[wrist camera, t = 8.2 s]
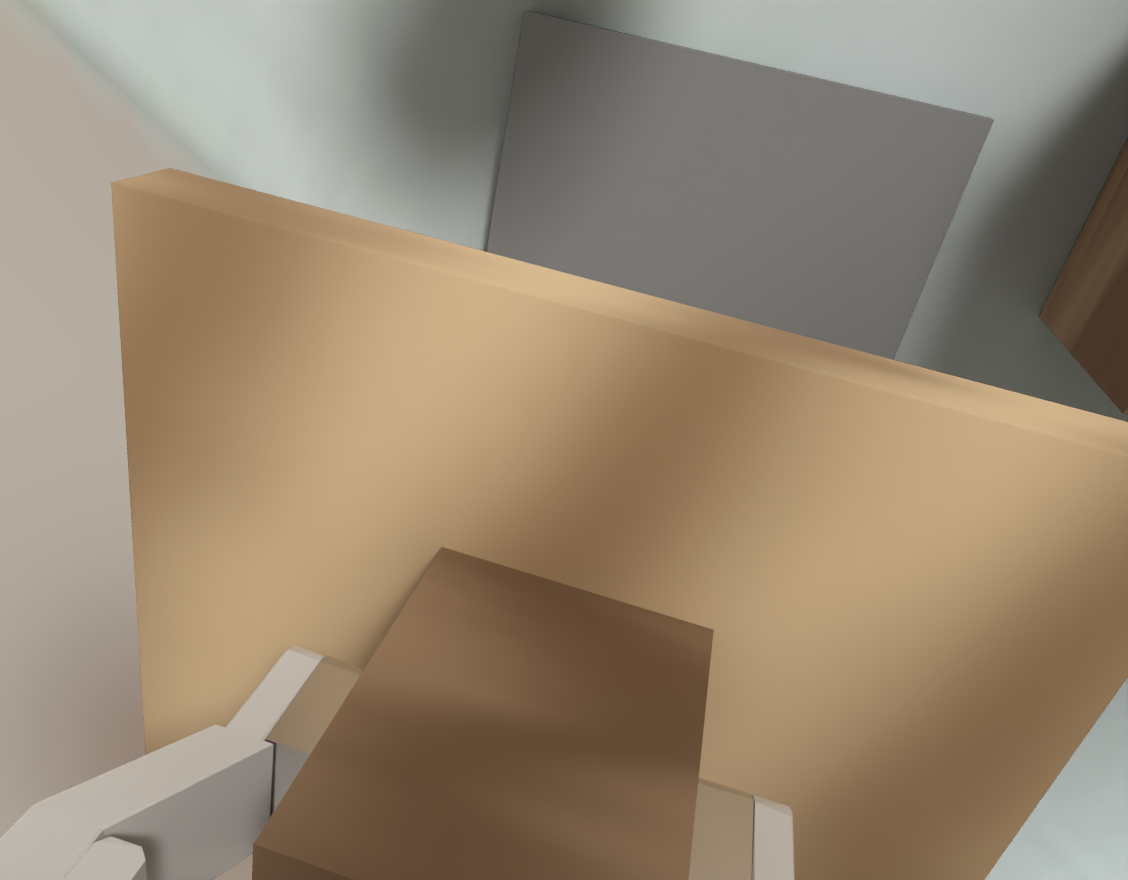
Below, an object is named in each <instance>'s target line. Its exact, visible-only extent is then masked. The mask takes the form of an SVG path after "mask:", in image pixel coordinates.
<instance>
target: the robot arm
mask: <svg viewBox="0 0 1128 880" xmlns="http://www.w3.org/2000/svg"><path fill="white" fill-rule="evenodd" d="M363 670H364V669H363V668H360V667H357V666H355V665H352V664H349V663H346V662H343V661H341V660H338V659H335V658H332V657H329V656H325V655H322V654H319V653H316V652H313V651H311V650H308V649H305V648H302V647H299V646H296V645H294V646H292V647H291V648H289V649H288V650H286V651H285V652H284V653H283V654H282V656H281V657H280V658H279V660H278V661H277V662H276V663H275V665H274V666H273V667H272V668H271V670H270V671H269V672H268V674H267V675H266V676H265V677H264V679H263V680H262V681H261V682H260V684H259V685H258V686H257V688H256V689H255V690H254V691H253V693H252V694H251V695H250V696H249V698H248V699H247V700H246V702H245V703H244V704H243V705H242V707H241V708H240V709H239V710H238V712H237V713H236V714H235V716H234V717H233V718H232V719H231V721H230V722H229V723H228V724H227V726H226V727H223V726H219V725H216V724H215V725H212V726H210V727H208V728H206V729H203V730H201V731H199V732H197V733H194V734H192V735H190V736H187V737H185V738H183V739H181V740H178V741H176V742H174V743H171V744H169V745H167V746H165V747H162V748H160V749H158V750H156V751H153V752H151V753H149V754H146V755H144V756H142V757H140V758H137V759H135V760H133V761H131V762H128V763H126V764H124V765H121V766H119V767H117V768H115V769H112V770H110V771H108V772H105V773H103V774H101V775H99V776H96V777H95V778H92V779H90V780H87V781H85V782H83V783H80V784H78V785H76V786H74V787H71V788H69V789H67V790H65V791H62V792H60V793H58V794H55V795H53V796H51V797H49V798H47V799H44V800H42V801H40V802H37V803H35V804H33V805H32V806H31V807H30V808H29V809H28V810H27V811H26V813H25V814H24V815H23V816H22V817H21V818H20V819H19V820H18V821H17V822H16V823H15V824H14V825H13V826H12V827H11V828H10V829H9V830H8V831H7V832H6V833H5V834H4V835H3V837H2V838H1V839H0V880H213V879H215V878H216V877H218V876H219V875H221V874H222V873H224V872H225V871H227V870H228V869H230V868H231V867H233V866H234V865H235V864H236V863H238V862H240V861H241V860H243V859H244V858H246V857H247V856H249V855H250V854H252V853H253V844H254V842H255V841H256V839H257V838H258V836H259V834H260V833H261V831H262V830H263V828H264V826H265V825H266V823H267V822H268V820H269V819H270V817H271V815H272V814H273V812H274V811H275V809H276V808H277V806H278V804H279V803H280V801H281V800H282V798H283V797H284V795H285V793H286V792H287V790H288V789H289V787H290V785H291V784H292V782H293V781H294V779H295V778H296V776H297V774H298V773H299V771H300V770H301V768H302V767H303V765H304V763H305V762H306V760H307V759H308V757H309V756H310V754H311V752H312V751H313V749H314V748H315V746H316V744H317V743H318V741H319V740H320V738H321V737H322V735H323V733H324V732H325V730H326V729H327V727H328V726H329V724H330V722H331V721H332V719H333V718H334V716H335V715H336V713H337V711H338V710H339V708H340V707H341V705H342V704H343V702H344V700H345V699H346V697H347V696H348V694H349V692H350V691H351V689H352V688H353V686H354V685H355V683H356V681H357V680H358V678H359V677H360V675H361V674H362V672H363ZM688 880H794V843H793V813H792V811H791V809H790V807H789V806H787V805H783V804H780V803H777V802H774V801H771V800H768V799H765V798H761V797H758V796H755V795H752V796H751V795H750V793H747V792H743V791H740V790H737V789H734V788H731V787H728V786H724V785H721V784H718V783H715V782H712V781H708V780H705V779H702V778H699V780H698V789H697V799H696V809H695V819H694V829H693V839H692V849H691V859H690V869H689V879H688Z"/></svg>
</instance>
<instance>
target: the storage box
mask: <svg viewBox="0 0 1128 880" xmlns="http://www.w3.org/2000/svg"><path fill="white" fill-rule="evenodd" d="M1039 317H1040V318H1041V320H1042V321H1043V322H1044V323H1045V324H1046V325H1047V326H1048V328H1049V329H1050V330H1051V331H1052V332H1053V333H1054V335H1055V336H1056V337H1057V338H1058V339H1059V340H1060V341H1061V343H1062V344H1063V345H1064V346H1065V347H1066V348H1067V349H1068V351H1069V352H1070V353H1071V354H1072V355H1073V356H1074V358H1075V359H1076V360H1077V361H1078V362H1079V363H1080V364H1081V366H1082V367H1083V368H1084V369H1085V370H1086V371H1087V372H1088V374H1089V375H1090V376H1091V377H1092V378H1093V379H1094V381H1095V382H1096V383H1097V384H1098V385H1099V386H1100V387H1101V389H1102V390H1103V391H1104V392H1105V393H1106V394H1107V396H1108V397H1109V398H1110V399H1111V400H1112V401H1113V402H1114V404H1115V405H1116V406H1117V407H1118V408H1119V409H1120V410H1121V412H1122V413H1123V414H1127V415H1128V138H1127V140H1126V142H1125V144H1124V146H1123V148H1122V150H1121V152H1120V154H1119V156H1118V158H1117V160H1116V162H1115V164H1114V166H1113V168H1112V170H1111V172H1110V175H1109V177H1108V179H1107V181H1106V183H1105V185H1104V187H1103V189H1102V191H1101V193H1100V195H1099V197H1098V199H1097V201H1096V203H1095V205H1094V207H1093V209H1092V211H1091V213H1090V215H1089V217H1088V219H1087V221H1086V223H1085V225H1084V227H1083V229H1082V231H1081V233H1080V235H1079V237H1078V239H1077V241H1076V243H1075V245H1074V247H1073V249H1072V251H1071V253H1070V255H1069V257H1068V259H1067V261H1066V263H1065V265H1064V267H1063V269H1062V271H1061V273H1060V275H1059V277H1058V279H1057V281H1056V283H1055V285H1054V287H1053V289H1052V291H1051V293H1050V295H1049V297H1048V299H1047V301H1046V303H1045V305H1044V307H1043V309H1042V311H1041V313H1040V315H1039Z"/></svg>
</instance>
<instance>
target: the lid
mask: <svg viewBox="0 0 1128 880" xmlns="http://www.w3.org/2000/svg"><path fill="white" fill-rule="evenodd" d="M111 188H112V205H113V220H114V238H115V255H116V271H117V288H118V304H119V320H120V338H121V354H122V371H123V385H124V386H123V387H124V403H125V420H126V436H127V454H128V470H129V486H130V502H131V520H132V535H133V536H132V537H133V553H134V570H135V587H136V603H137V620H138V636H139V653H140V670H141V686H142V703H143V720H144V734H145V735H144V736H145V752H146V754H149V753H151V752H153V751H156V750H158V749H160V748H162V747H165V746H167V745H169V744H171V743H174V742H176V741H178V740H181V739H183V738H185V737H187V736H190V735H192V734H194V733H197V732H199V731H201V730H203V729H206V728H208V727H210V726H212V725H215V724H216V725H219V726H223V727H226V726H227V724H228V723H229V722H230V721H231V719H232V718H233V717H234V716H235V714H236V713H237V712H238V710H239V709H240V708H241V707H242V705H243V704H244V703H245V702H246V700H247V699H248V698H249V696H250V695H251V694H252V693H253V691H254V690H255V689H256V688H257V686H258V685H259V684H260V682H261V681H262V680H263V679H264V677H265V676H266V675H267V674H268V672H269V671H270V670H271V668H272V667H273V666H274V665H275V663H276V662H277V661H278V660H279V658H280V657H281V656H282V654H283V653H284V652H285V651H286V650H288V649H289V648H291V647H292V646H294V645H296V646H299V647H302V648H305V649H308V650H311V651H313V652H316V653H319V654H322V655H325V656H329V657H332V658H335V659H338V660H341V661H343V662H346V663H349V664H352V665H355V666H357V667H360V668H363V669H364V670H363V672H362V674H361V675H360V677H359V678H358V680H357V681H356V683H355V685H354V686H353V688H352V689H351V691H350V692H349V694H348V696H347V697H346V699H345V700H344V702H343V704H342V705H341V707H340V708H339V710H338V711H337V713H336V715H335V716H334V718H333V719H332V721H331V722H330V724H329V726H328V727H327V729H326V730H325V732H324V733H323V735H322V737H321V738H320V740H319V741H318V743H317V744H316V746H315V748H314V749H313V751H312V752H311V754H310V756H309V757H308V759H307V760H306V762H305V763H304V765H303V767H302V768H301V770H300V771H299V773H298V774H297V776H296V778H295V779H294V781H293V782H292V784H291V785H290V787H289V789H288V790H287V792H286V793H285V795H284V797H283V798H282V800H281V801H280V803H279V804H278V806H277V808H276V809H275V811H274V812H273V814H272V815H271V817H270V819H269V820H268V822H267V823H266V825H265V826H264V828H263V830H262V831H261V833H260V834H259V836H258V838H257V839H256V841H255V842H254V844H253V871H252V880H688V879H689V869H690V859H691V849H692V839H693V829H694V819H695V809H696V799H697V789H698V780H699V778H702V779H705V780H708V781H712V782H715V783H718V784H721V785H724V786H728V787H731V788H734V789H737V790H740V791H743V792H747V793H750V795H751V796H752V795H755V796H758V797H761V798H765V799H768V800H771V801H774V802H777V803H780V804H783V805H787V806H789V807H790V809H791V811H792V813H793V843H794V880H984V879H985V878H986V877H987V875H988V874H989V872H990V871H991V869H992V868H993V867H994V865H995V864H996V862H997V861H998V860H999V858H1000V857H1001V855H1002V854H1003V853H1004V851H1005V850H1006V848H1007V847H1008V845H1009V844H1010V843H1011V841H1012V840H1013V838H1014V837H1015V836H1016V834H1017V833H1018V831H1019V830H1020V828H1021V827H1022V826H1023V824H1024V823H1025V821H1026V820H1027V819H1028V817H1029V816H1030V814H1031V813H1032V811H1033V810H1034V809H1035V807H1036V806H1037V804H1038V803H1039V802H1040V800H1041V799H1042V797H1043V796H1044V795H1045V793H1046V792H1047V790H1048V789H1049V787H1050V786H1051V785H1052V783H1053V782H1054V780H1055V779H1056V778H1057V776H1058V775H1059V773H1060V772H1061V770H1062V769H1063V768H1064V766H1065V765H1066V763H1067V762H1068V761H1069V759H1070V758H1071V756H1072V755H1073V753H1074V752H1075V751H1076V749H1077V748H1078V746H1079V745H1080V744H1081V742H1082V741H1083V739H1084V738H1085V736H1086V735H1087V734H1088V732H1089V731H1090V729H1091V728H1092V727H1093V725H1094V724H1095V722H1096V721H1097V720H1098V718H1099V717H1100V715H1101V714H1102V712H1103V711H1104V710H1105V708H1106V707H1107V705H1108V704H1109V703H1110V701H1111V700H1112V698H1113V697H1114V695H1115V694H1116V693H1117V691H1118V690H1119V688H1120V687H1121V686H1122V684H1123V683H1124V681H1125V680H1126V678H1127V677H1128V422H1126V421H1122V420H1118V419H1115V418H1111V417H1107V416H1103V415H1099V414H1096V413H1092V412H1088V411H1084V410H1081V409H1077V408H1073V407H1069V406H1065V405H1062V404H1058V403H1054V402H1050V401H1047V400H1043V399H1039V398H1035V397H1032V396H1028V395H1024V394H1020V393H1016V392H1013V391H1009V390H1005V389H1001V388H998V387H994V386H990V385H986V384H983V383H979V382H975V381H971V380H967V379H964V378H960V377H956V376H952V375H949V374H945V373H941V372H937V371H933V370H930V369H926V368H922V367H918V366H915V365H911V364H907V363H903V362H900V361H896V360H892V359H888V358H884V357H881V356H877V355H873V354H869V353H866V352H862V351H858V350H854V349H851V348H847V347H843V346H839V345H835V344H832V343H828V342H824V341H820V340H817V339H813V338H809V337H805V336H801V335H798V334H794V333H790V332H786V331H783V330H779V329H775V328H771V327H768V326H764V325H760V324H756V323H752V322H749V321H745V320H741V319H737V318H734V317H730V316H726V315H722V314H719V313H715V312H711V311H707V310H703V309H700V308H696V307H692V306H688V305H685V304H681V303H677V302H673V301H669V300H666V299H662V298H658V297H654V296H651V295H647V294H643V293H639V292H636V291H632V290H628V289H624V288H620V287H617V286H613V285H609V284H605V283H602V282H598V281H594V280H590V279H587V278H583V277H579V276H575V275H571V274H568V273H564V272H560V271H556V270H553V269H549V268H545V267H541V266H538V265H534V264H530V263H526V262H522V261H519V260H515V259H511V258H507V257H504V256H500V255H496V254H492V253H488V252H485V251H481V250H477V249H473V248H470V247H466V246H462V245H458V244H455V243H451V242H447V241H443V240H439V239H436V238H432V237H428V236H424V235H421V234H417V233H413V232H409V231H406V230H402V229H398V228H394V227H390V226H387V225H383V224H379V223H375V222H372V221H368V220H364V219H360V218H356V217H353V216H349V215H345V214H341V213H338V212H334V211H330V210H326V209H323V208H319V207H315V206H311V205H307V204H304V203H300V202H296V201H292V200H289V199H285V198H281V197H277V196H274V195H270V194H266V193H262V192H258V191H255V190H251V189H247V188H243V187H240V186H236V185H232V184H228V183H224V182H221V181H217V180H213V179H209V178H206V177H202V176H198V175H194V174H191V173H187V172H183V171H179V170H175V169H172V168H169V169H165V170H161V171H157V172H153V173H148V174H144V175H140V176H136V177H132V178H128V179H124V180H119V181H115V182H112V183H111Z"/></svg>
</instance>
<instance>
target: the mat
mask: <svg viewBox="0 0 1128 880" xmlns="http://www.w3.org/2000/svg"><path fill="white" fill-rule="evenodd" d="M993 121H994V120H993V119H991V118H987V117H983V116H979V115H974V114H970V113H966V112H961V111H957V110H953V109H949V108H944V107H940V106H936V105H931V104H927V103H923V102H918V101H914V100H910V99H905V98H901V97H897V96H893V95H888V94H884V93H880V92H875V91H871V90H867V89H862V88H858V87H854V86H849V85H845V84H841V83H837V82H832V81H828V80H824V79H819V78H815V77H811V76H806V75H802V74H798V73H793V72H789V71H785V70H781V69H776V68H772V67H768V66H763V65H759V64H755V63H750V62H746V61H742V60H737V59H733V58H729V57H725V56H720V55H716V54H712V53H707V52H703V51H699V50H694V49H690V48H686V47H681V46H677V45H673V44H669V43H664V42H660V41H656V40H651V39H647V38H643V37H638V36H634V35H630V34H625V33H621V32H617V31H612V30H608V29H604V28H600V27H595V26H591V25H587V24H582V23H578V22H574V21H569V20H565V19H561V18H556V17H552V16H548V15H544V14H539V13H535V12H531V11H524V14H523V20H522V26H521V33H520V39H519V46H518V52H517V59H516V65H515V72H514V78H513V84H512V91H511V97H510V104H509V110H508V117H507V123H506V130H505V136H504V143H503V149H502V155H501V162H500V168H499V175H498V181H497V188H496V194H495V201H494V207H493V213H492V220H491V226H490V233H489V239H488V246H487V252H488V253H492V254H496V255H500V256H504V257H507V258H511V259H515V260H519V261H522V262H526V263H530V264H534V265H538V266H541V267H545V268H549V269H553V270H556V271H560V272H564V273H568V274H571V275H575V276H579V277H583V278H587V279H590V280H594V281H598V282H602V283H605V284H609V285H613V286H617V287H620V288H624V289H628V290H632V291H636V292H639V293H643V294H647V295H651V296H654V297H658V298H662V299H666V300H669V301H673V302H677V303H681V304H685V305H688V306H692V307H696V308H700V309H703V310H707V311H711V312H715V313H719V314H722V315H726V316H730V317H734V318H737V319H741V320H745V321H749V322H752V323H756V324H760V325H764V326H768V327H771V328H775V329H779V330H783V331H786V332H790V333H794V334H798V335H801V336H805V337H809V338H813V339H817V340H820V341H824V342H828V343H832V344H835V345H839V346H843V347H847V348H851V349H854V350H858V351H862V352H866V353H869V354H873V355H877V356H881V357H884V358H888V359H892V360H893V359H894V356H895V354H896V351H897V349H898V347H899V344H900V342H901V340H902V337H903V335H904V332H905V330H906V328H907V325H908V323H909V321H910V318H911V316H912V313H913V311H914V309H915V306H916V304H917V302H918V299H919V297H920V294H921V292H922V290H923V287H924V285H925V282H926V280H927V278H928V275H929V273H930V271H931V268H932V266H933V263H934V261H935V259H936V256H937V254H938V252H939V249H940V247H941V244H942V242H943V240H944V237H945V235H946V233H947V230H948V228H949V225H950V223H951V221H952V218H953V216H954V214H955V211H956V209H957V206H958V204H959V202H960V199H961V197H962V195H963V192H964V190H965V187H966V185H967V183H968V180H969V178H970V175H971V173H972V171H973V168H974V166H975V164H976V161H977V159H978V156H979V154H980V152H981V149H982V147H983V145H984V142H985V140H986V137H987V135H988V133H989V130H990V128H991V126H992V123H993Z"/></svg>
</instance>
